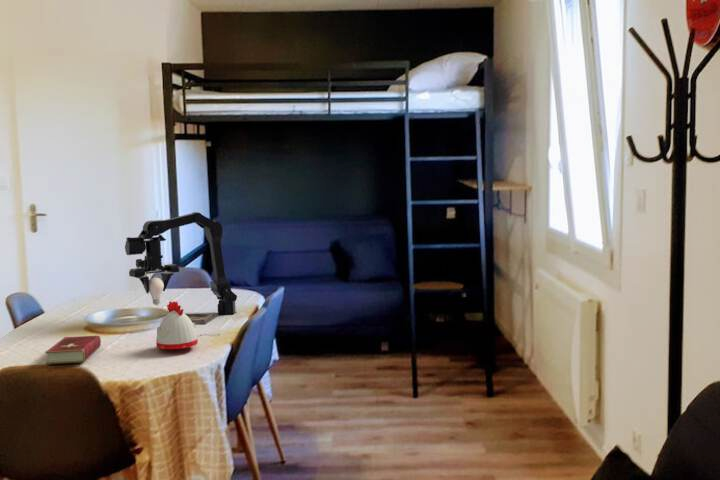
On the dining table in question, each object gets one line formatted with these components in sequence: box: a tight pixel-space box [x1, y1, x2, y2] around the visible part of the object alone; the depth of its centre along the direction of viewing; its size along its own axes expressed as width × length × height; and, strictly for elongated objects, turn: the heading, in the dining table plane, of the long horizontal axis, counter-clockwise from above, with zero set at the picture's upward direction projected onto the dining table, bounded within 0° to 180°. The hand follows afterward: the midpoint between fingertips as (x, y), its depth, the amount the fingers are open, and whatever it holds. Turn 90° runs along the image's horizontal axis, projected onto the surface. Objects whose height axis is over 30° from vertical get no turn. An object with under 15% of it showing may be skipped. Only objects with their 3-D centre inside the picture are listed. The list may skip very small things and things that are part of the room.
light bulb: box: [149, 277, 164, 306], centre depth 288 cm, size 7×7×11 cm
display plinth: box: [185, 313, 218, 325], centre depth 293 cm, size 14×14×2 cm
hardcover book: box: [44, 334, 102, 365], centre depth 244 cm, size 12×21×4 cm, turn 6°
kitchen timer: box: [155, 300, 198, 350], centre depth 253 cm, size 14×14×15 cm
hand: (155, 292), depth 288 cm, fingers closed on light bulb, 6 cm apart
